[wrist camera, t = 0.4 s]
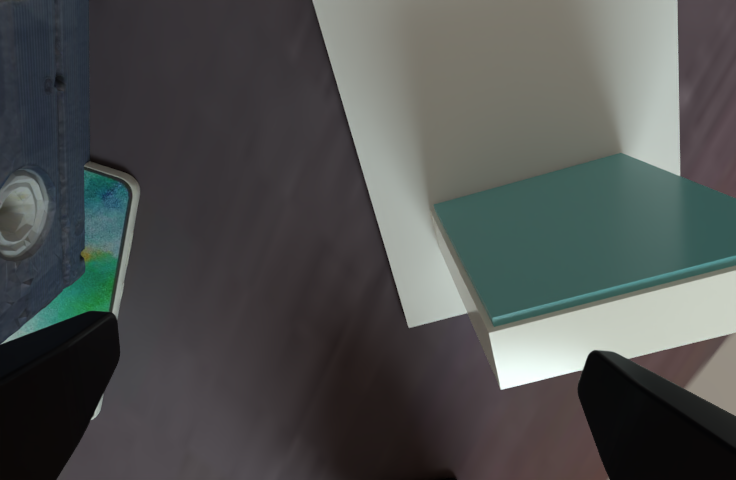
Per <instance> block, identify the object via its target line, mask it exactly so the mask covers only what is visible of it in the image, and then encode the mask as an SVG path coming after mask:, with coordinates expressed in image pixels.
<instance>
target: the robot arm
mask: <svg viewBox="0 0 736 480" xmlns="http://www.w3.org/2000/svg"><path fill="white" fill-rule="evenodd" d="M119 357H120V344H119V333H118V323H117V318H116V316H115V314H113V313H112V312H104V311H87V312H85V313H82V314H80V315H77V316H74V317H72V318H69V319H66V320H64V321H61V322H58V323H56V324H53V325H51V326H48V327H45V328H43V329H40V330H37V331H35V332H32V333H29V334H27V335H24V336H22V337H19V338H16V339H14V340H11V341H8V342H6V343H3V344H0V480H56V479H57V478H58V476H59V474H60V473H61V471H62V470H63V468H64V466H65V465H66V463H67V462H68V460H69V458H70V457H71V455H72V454H73V452H74V450H75V449H76V447H77V445H78V443H79V442H80V440H81V438H82V436H83V435H84V433H85V431H86V429H87V427H88V425H89V423H90V421H91V419H92V416H93V414H94V412H95V410H96V408H97V406H98V404H99V402H100V400H101V398H102V396H103V393H104V391H105V389H106V387H107V385H108V383H109V381H110V379H111V377H112V375H113V373H114V370H115V368H116V366H117V364H118V361H119ZM578 396H579V399H580V402H581V405H582V408H583V410H584V413H585V416H586V419H587V421H588V424H589V427H590V430H591V432H592V435H593V438H594V441H595V443H596V446H597V449H598V452H599V455H600V457H601V460H602V462H603V465H604V467H605V470H606V472H607V474H608V476H609V479H610V480H736V416H734V415H732V414H731V413H729V412H727V411H725V410H723V409H721V408H719V407H717V406H716V405H714V404H712V403H710V402H708V401H706V400H704V399H702V398H700V397H699V396H697V395H695V394H693V393H691V392H689V391H687V390H685V389H683V388H682V387H680V386H678V385H676V384H674V383H672V382H670V381H668V380H666V379H665V378H663V377H661V376H659V375H657V374H655V373H653V372H651V371H650V370H648V369H646V368H644V367H642V366H640V365H638V364H636V363H634V362H633V361H631V360H629V359H627V358H625V357H623V356H621V355H619V354H617V353H615V352H612V351H602V350H593V351H591V352H590V353H589V354H588V357H587V359H586V362H585V365H584V368H583V371H582V374H581V377H580V380H579V383H578ZM443 480H457V479H455V478H448V479H443Z"/></svg>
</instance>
